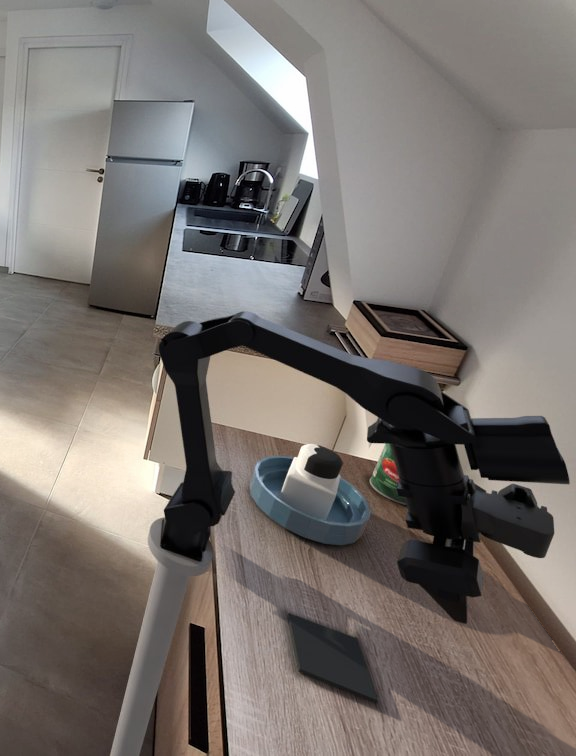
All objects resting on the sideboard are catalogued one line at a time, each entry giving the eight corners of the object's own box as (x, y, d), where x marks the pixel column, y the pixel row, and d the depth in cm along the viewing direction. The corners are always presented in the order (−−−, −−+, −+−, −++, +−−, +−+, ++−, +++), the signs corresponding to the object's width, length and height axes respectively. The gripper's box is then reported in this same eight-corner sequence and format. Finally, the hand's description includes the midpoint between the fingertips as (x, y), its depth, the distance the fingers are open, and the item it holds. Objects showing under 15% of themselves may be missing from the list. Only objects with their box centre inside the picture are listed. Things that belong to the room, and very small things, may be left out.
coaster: (298, 671, 58) (299, 668, 57) (287, 615, 64) (288, 612, 64) (376, 703, 55) (378, 700, 54) (356, 641, 61) (357, 638, 61)
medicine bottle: (328, 505, 84) (350, 452, 79) (323, 527, 79) (345, 472, 74) (284, 485, 88) (302, 434, 84) (276, 505, 83) (294, 451, 79)
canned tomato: (410, 483, 91) (432, 438, 87) (430, 511, 84) (454, 463, 80) (362, 472, 94) (381, 427, 90) (378, 498, 87) (399, 451, 83)
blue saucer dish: (253, 525, 79) (261, 503, 78) (244, 465, 94) (250, 446, 92) (374, 563, 73) (386, 540, 71) (344, 493, 88) (353, 472, 86)
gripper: (537, 536, 42) (580, 691, 42) (534, 444, 53) (568, 567, 54) (380, 511, 50) (417, 640, 51) (407, 437, 62) (437, 542, 62)
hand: (463, 595), depth 54 cm, fingers open, 9 cm apart
